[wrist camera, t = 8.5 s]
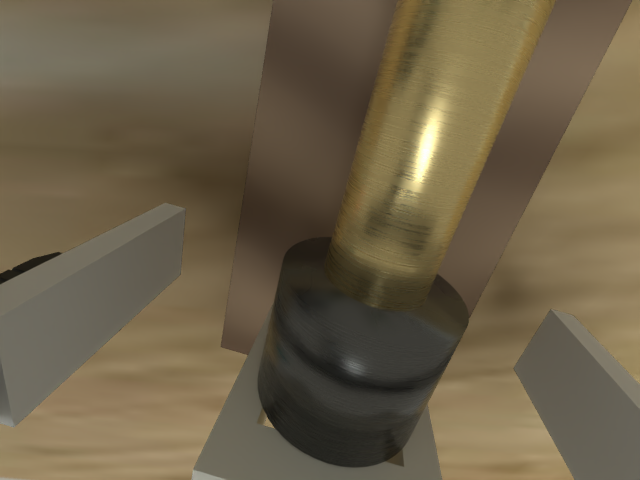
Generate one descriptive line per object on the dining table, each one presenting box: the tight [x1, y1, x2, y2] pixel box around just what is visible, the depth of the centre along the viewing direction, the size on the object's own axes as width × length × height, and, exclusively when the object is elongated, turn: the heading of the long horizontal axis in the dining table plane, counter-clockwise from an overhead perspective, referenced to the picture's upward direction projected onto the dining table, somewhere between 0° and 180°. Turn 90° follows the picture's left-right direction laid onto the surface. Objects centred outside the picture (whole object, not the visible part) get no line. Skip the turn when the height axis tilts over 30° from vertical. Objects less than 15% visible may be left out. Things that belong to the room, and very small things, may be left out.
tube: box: [257, 0, 556, 468], centre depth 8 cm, size 19×5×5 cm, turn 167°
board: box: [221, 0, 632, 355], centre depth 13 cm, size 27×11×1 cm, turn 167°
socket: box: [192, 302, 442, 480], centre depth 13 cm, size 4×6×10 cm, turn 76°
